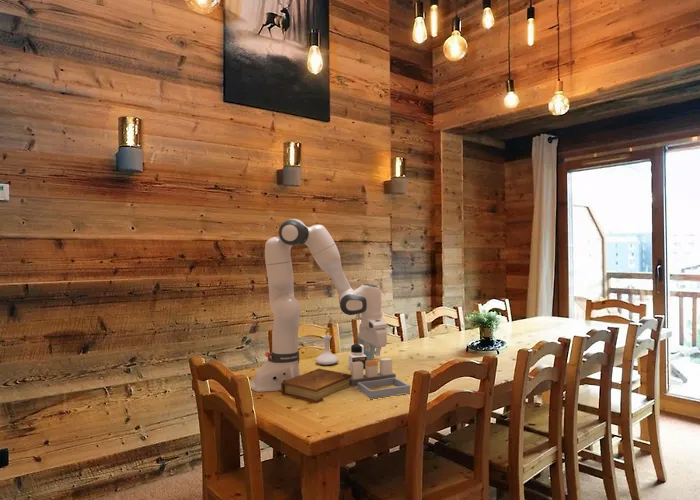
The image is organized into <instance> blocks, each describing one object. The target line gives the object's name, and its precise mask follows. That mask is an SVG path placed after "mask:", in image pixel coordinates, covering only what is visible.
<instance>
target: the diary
mask: <svg viewBox="0 0 700 500" xmlns="http://www.w3.org/2000/svg"><path fill="white" fill-rule="evenodd" d="M350 377H352V375H351V373H350V374H349V373H345V372H339V371H335V370H334V371H333V370H328V369H323V368H317V369H313V370H311V371H308V372H306V373H303V374H300V376H297V377H294V378H292V379H289V380H286V381H283V382H282V383H281V390H280V391H281V394H282V395H284V396H287V397H291V398H295V399H298V400H303V401H306V402H311V403H315V404H319V403H321V402H323V401H324V399H323V398H325V397H327V396H329V395H331V394H334V393H336V392H339V391H340V390H341V391H342V390H343V389H345V388H348V387H351V386H350Z"/></svg>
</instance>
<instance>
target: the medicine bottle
mask: <svg viewBox="0 0 700 500" xmlns="http://www.w3.org/2000/svg"><path fill="white" fill-rule="evenodd" d="M350 347H351V348H350V351H351V353H348V369H349V370H350V371H351V362H358V361H361V362H363V370H365V361H366V360H367V356H366V355H364V354H363V353H364V346H363V345H362V344H359V343H354V344H351V346H350Z"/></svg>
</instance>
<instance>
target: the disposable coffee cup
mask: <svg viewBox="0 0 700 500" xmlns="http://www.w3.org/2000/svg"><path fill="white" fill-rule="evenodd" d="M356 337H357V341H358V343H357V344H362V345H363V346H364V353H363V354H364V355H366V356H367V360H375V351H376V346H375V345H373V344H371V343H369V346H370V351H366V350H365V345H364V340H362V339H360V337H359V332H357V336H356Z"/></svg>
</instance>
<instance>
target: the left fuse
mask: <svg viewBox="0 0 700 500" xmlns="http://www.w3.org/2000/svg"><path fill="white" fill-rule="evenodd" d="M350 375H352V377H351V378H352V379H359V378H363V375H364V369H363V362H361V361H358V362H351V370H350Z"/></svg>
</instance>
